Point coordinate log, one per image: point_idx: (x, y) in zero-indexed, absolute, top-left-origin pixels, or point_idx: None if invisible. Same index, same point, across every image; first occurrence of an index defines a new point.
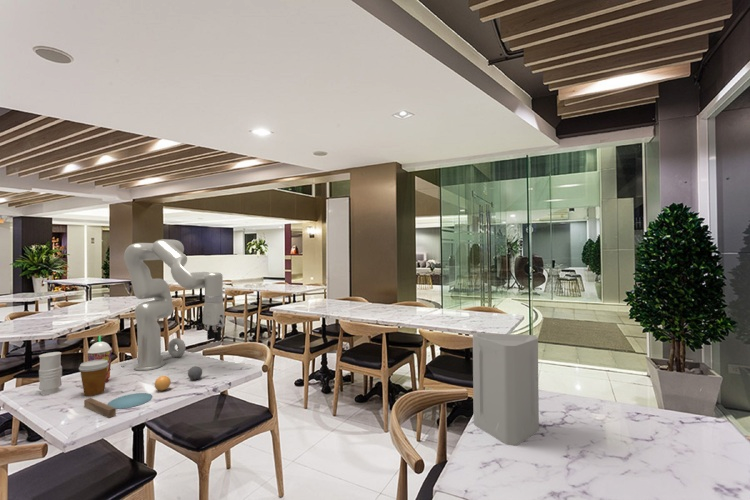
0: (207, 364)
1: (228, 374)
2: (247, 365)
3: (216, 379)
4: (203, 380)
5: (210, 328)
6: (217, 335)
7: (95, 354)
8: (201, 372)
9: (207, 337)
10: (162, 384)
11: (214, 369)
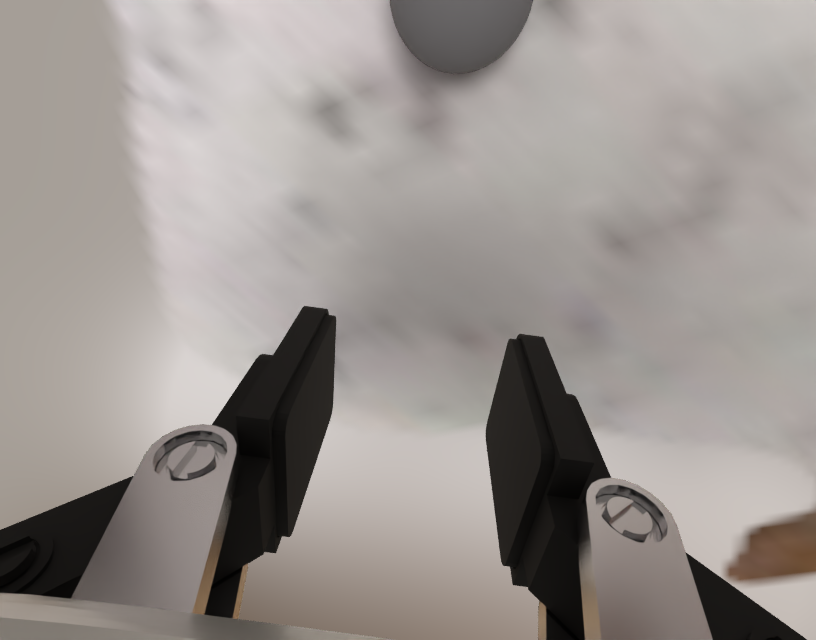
0: (646, 346)
1: (297, 228)
2: (340, 412)
3: (278, 92)
4: (360, 16)
5: (572, 587)
6: (237, 394)
7: None
8: (396, 25)
9: (544, 355)
10: None
11: (498, 278)
